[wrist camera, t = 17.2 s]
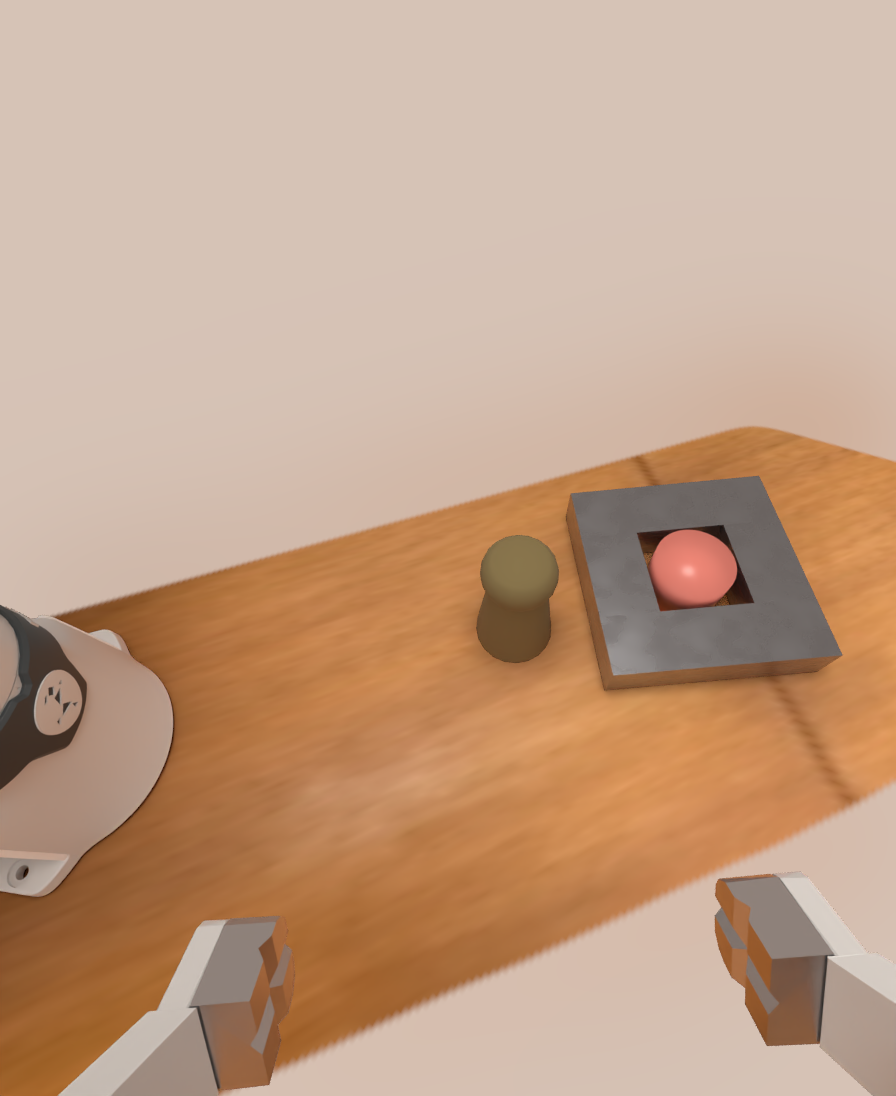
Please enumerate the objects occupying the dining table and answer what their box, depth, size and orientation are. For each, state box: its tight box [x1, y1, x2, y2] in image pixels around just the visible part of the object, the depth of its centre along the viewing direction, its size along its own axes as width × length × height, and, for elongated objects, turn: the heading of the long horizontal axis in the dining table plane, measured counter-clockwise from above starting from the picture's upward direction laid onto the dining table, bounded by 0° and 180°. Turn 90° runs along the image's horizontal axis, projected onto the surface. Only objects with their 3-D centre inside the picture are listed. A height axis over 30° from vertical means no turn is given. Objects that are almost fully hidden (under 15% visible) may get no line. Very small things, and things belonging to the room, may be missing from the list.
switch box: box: [566, 476, 842, 690], centre depth 44 cm, size 16×16×4 cm
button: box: [647, 530, 737, 611], centre depth 44 cm, size 6×6×4 cm
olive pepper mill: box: [476, 535, 559, 663], centre depth 40 cm, size 6×6×11 cm
